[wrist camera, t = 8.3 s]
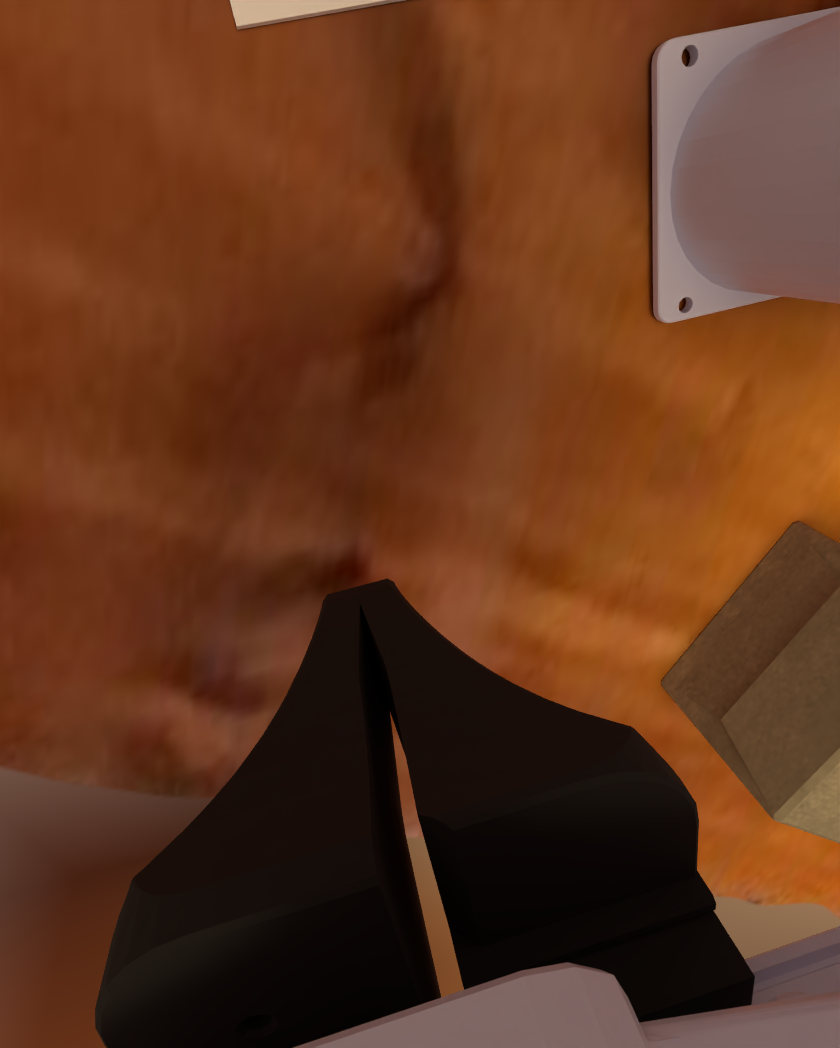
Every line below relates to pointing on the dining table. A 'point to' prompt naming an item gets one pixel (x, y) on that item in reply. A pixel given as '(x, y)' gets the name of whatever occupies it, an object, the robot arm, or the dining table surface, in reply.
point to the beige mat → (291, 9)
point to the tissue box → (775, 682)
